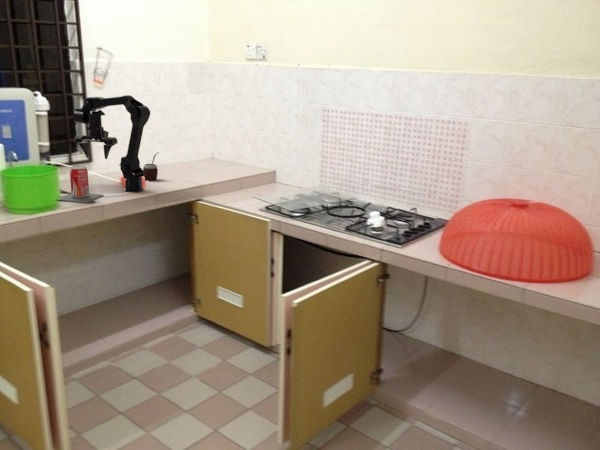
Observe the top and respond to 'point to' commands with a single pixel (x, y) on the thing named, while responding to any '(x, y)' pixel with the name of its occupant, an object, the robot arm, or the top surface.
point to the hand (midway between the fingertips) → (97, 158)
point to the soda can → (79, 182)
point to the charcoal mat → (81, 200)
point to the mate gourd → (150, 171)
